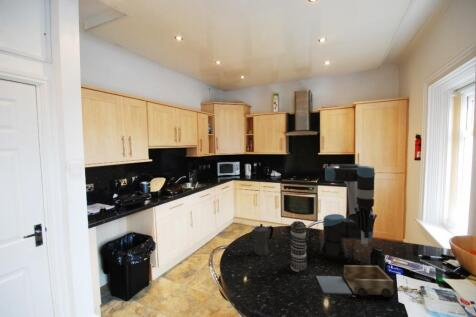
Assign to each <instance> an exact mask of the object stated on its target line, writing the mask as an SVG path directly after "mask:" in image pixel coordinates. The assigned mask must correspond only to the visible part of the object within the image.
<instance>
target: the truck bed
mask: <svg viewBox="0 0 476 317" xmlns="http://www.w3.org/2000/svg"><path fill="white" fill-rule="evenodd" d="M343 280H344V281H345V283H346V284H347V286H349V289H350V290H352V291H351V292H353V294H354V295H359V297H366V298H367V296H372V295H373V296H383V297H384V298H391V297H392V296H394V280H393V279H392V278H391V276H389V275H388V274H387V273H386V271H385V272H384V271H383V270H382V269H381V268H380V267H379V266H370V265H358V264H357V265H353V264H352V265H351V264H349V265H348V264H347V265H346V264H344V265H343Z"/></svg>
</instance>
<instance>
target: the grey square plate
mask: <svg viewBox="0 0 476 317" xmlns="http://www.w3.org/2000/svg"><path fill="white" fill-rule="evenodd" d="M315 276H316V277H315V278H316V280H317V282H318V284H319V287H320V288H321V291H322V292H323V294H334V295H352V294H353V293H352V291H351V288H350V287H348V286H349V285H348V284H347V282H346V281H345V279H344V278H342V276H330V275H329V276H328V275H327V276H326V275H315Z"/></svg>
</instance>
